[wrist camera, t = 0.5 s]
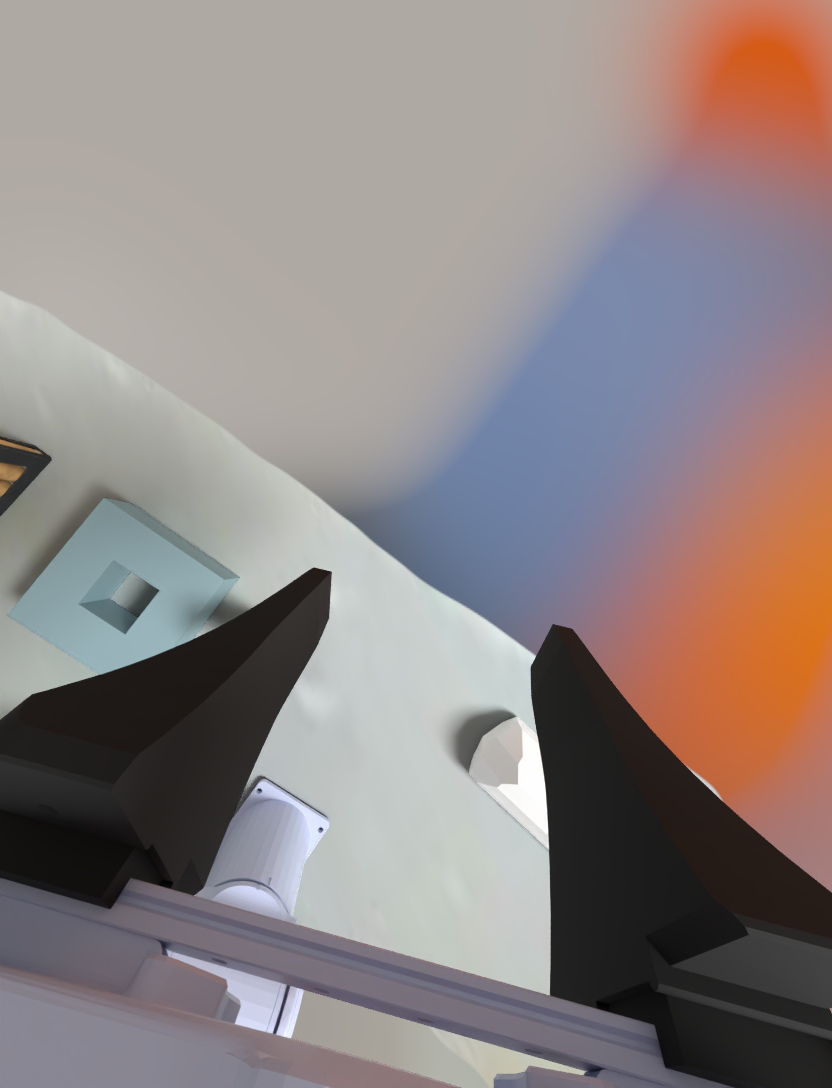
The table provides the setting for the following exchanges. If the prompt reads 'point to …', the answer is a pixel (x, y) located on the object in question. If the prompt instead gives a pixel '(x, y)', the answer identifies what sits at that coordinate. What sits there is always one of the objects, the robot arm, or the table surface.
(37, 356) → the table surface
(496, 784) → the crystal
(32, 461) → the ammunition clip
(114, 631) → the socket block
